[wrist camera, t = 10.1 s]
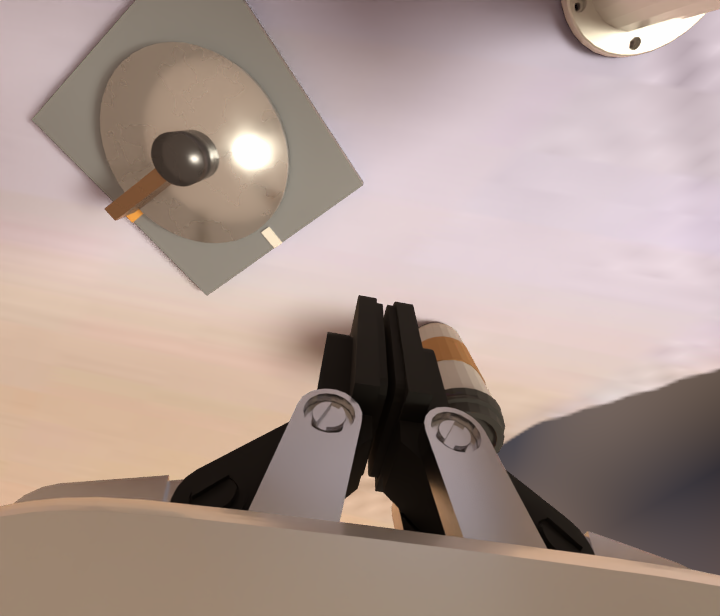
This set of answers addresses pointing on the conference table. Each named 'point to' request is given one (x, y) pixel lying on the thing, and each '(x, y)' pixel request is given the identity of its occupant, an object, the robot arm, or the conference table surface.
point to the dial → (193, 143)
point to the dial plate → (265, 64)
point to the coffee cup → (463, 380)
